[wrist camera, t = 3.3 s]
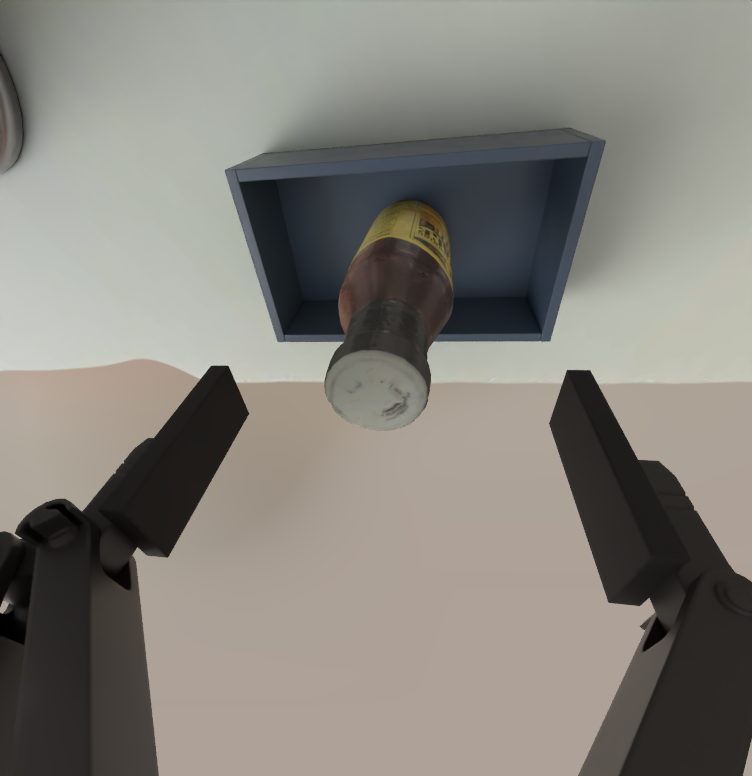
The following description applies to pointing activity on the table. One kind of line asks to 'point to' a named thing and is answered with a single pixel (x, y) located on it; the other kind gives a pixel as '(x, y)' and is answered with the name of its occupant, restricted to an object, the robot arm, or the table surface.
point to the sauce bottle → (391, 318)
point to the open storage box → (449, 198)
